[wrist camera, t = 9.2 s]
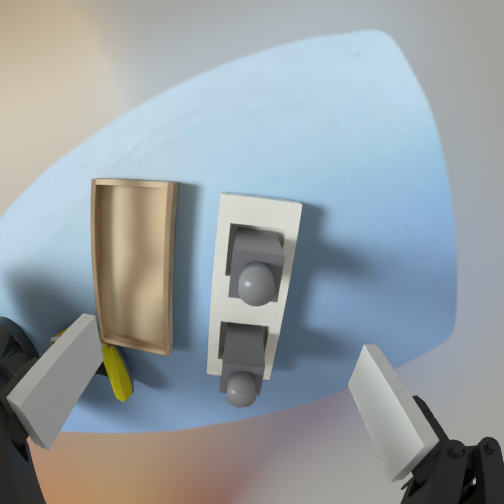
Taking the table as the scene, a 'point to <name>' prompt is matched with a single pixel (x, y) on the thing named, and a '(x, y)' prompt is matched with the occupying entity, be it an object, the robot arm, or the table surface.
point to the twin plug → (242, 364)
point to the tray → (134, 261)
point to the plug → (256, 267)
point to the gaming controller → (112, 369)
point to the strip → (223, 307)
